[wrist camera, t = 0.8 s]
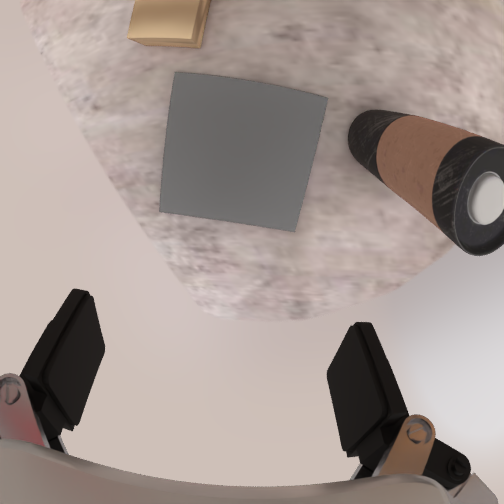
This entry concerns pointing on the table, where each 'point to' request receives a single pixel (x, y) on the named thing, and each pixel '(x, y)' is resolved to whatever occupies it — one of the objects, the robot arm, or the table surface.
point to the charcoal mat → (239, 150)
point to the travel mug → (437, 174)
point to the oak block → (169, 22)
